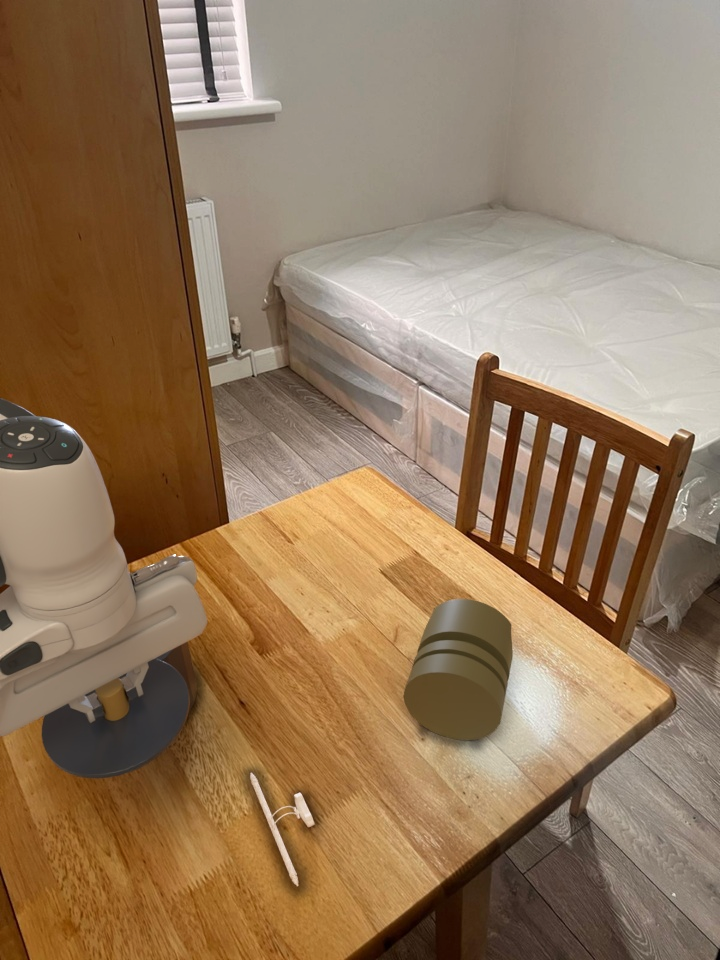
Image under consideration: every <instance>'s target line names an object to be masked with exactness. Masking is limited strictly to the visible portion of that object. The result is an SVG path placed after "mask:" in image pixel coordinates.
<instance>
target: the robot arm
mask: <svg viewBox="0 0 720 960" xmlns="http://www.w3.org/2000/svg"><path fill="white" fill-rule="evenodd" d="M115 521H116V520H115V514H114V511H113V506H112V503H111V500H110V496H109V492H108V489H107V487H106V484H105V481H104V478H103V474H102V472H101V470H100V467H99V465H98V463H97V461H96V458H95V456H94V454H93V452H92V450H91V448H90V447H89V445H88V444H87V443H86V441H85V440H84V439H83V437H81V435H80V434H79V433H78V432H77V431H76V430H75V429H74V428H73V427H72V426H70V425H69V424H67V423H65V422H63V421H60V420H58V419H55V418H50V417H45V416H36V415H35V414H33V413H32V412H30V411H29V410H27V409H26V408H24V407H22V406H20V405H18V404H16V403H13V402H11V401H9V400H6V399H4V398H2V397H0V587H3V586H4V585H7V586H8V587H7V588H6V589H5V590H3V591H2V592H1V593H0V737H7V736H9V735H11V734H13V733H14V732H17V731H18V730H20V729H22V728H24V727H26V726H28V725H30V724H32V723H34V722H36V721H38V720H39V719H42V718H44V716H45V715H47V714H49V713H51V712H53V711H55V710H57V709H59V708H60V707H62V706H64V705H66V704H69V706H70V707H71V708H72V709H75V710H78V711H80V712H83V713H85V715H86V716H87V718H88V720H89V722H90V723H92V722H93V721H95V720H97V719H99V718H100V717H102V716H104V715H105V712H104V710H103V706H102V704H101V702H100V700H98V697H97V695H96V694H95V693H93V694H91V695H89V696H87V697H86V696H85V694H87V693H89V692H91V691H93V690H95V689H97V688H99V687H101V686H103V685H105V684H107V683H109V682H111V681H112V680H114V679H116V678H118V677H120V676H122V675H124V674H126V673H127V676H125V677H123V678H121V679H120V680H121V681H122V684H123V687H124V691H125V694H126V697H127V700H128V701H129V702H130V701H132V700H134V699H136V698H138V697H139V696H141V695H143V690H142V687H141V683H142V682H143V679H144V677H145V675H146V672H147V670H148V668H149V666H148V663H147V662H149V661H151V660H153V659H155V658H157V657H159V656H161V655H162V654H164V653H166V652H168V651H170V650H172V649H174V648H176V647H178V646H180V645H182V644H184V643H186V642H190V641H191V640H193V639H195V638H197V637H199V636H201V635H202V634H203V633H204V631H205V629H206V627H207V625H208V616H207V613H206V611H205V607H204V605H203V602H202V600H201V597H200V595H199V593H198V591H197V590H196V588H195V586H196V584H197V581H198V573H197V567H196V564H195V562H194V560H193V559H192V558H191V557H189V556H186V555H180V556H177V555H176V554H171V555H169V556H166V557H164V558H162V559H161V560H160V561H157V562H154V563H152V564H150V565H146V566H144V567H141V568H139V569H137V570H134V571H132V572H130V569H129V566H128V562H127V558H126V554H125V552H124V549H123V547H122V546H121V544H120V543H119V541H118V540H117V539H116V536H115V525H116V522H115Z"/></svg>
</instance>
